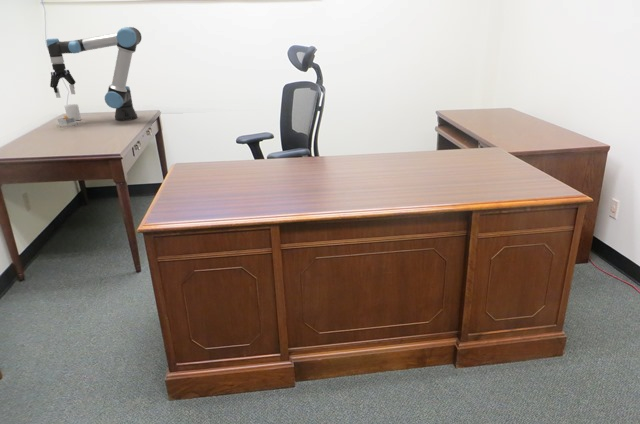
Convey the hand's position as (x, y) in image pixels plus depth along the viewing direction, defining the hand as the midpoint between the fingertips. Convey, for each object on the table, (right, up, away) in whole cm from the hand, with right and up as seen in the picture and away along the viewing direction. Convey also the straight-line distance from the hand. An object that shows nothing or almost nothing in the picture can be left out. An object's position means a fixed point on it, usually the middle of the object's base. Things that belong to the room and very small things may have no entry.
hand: (66, 95), depth 316 cm
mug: (-6, -12, +22) cm, 26 cm away
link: (-2, -18, +4) cm, 18 cm away
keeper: (-2, -19, +5) cm, 20 cm away
